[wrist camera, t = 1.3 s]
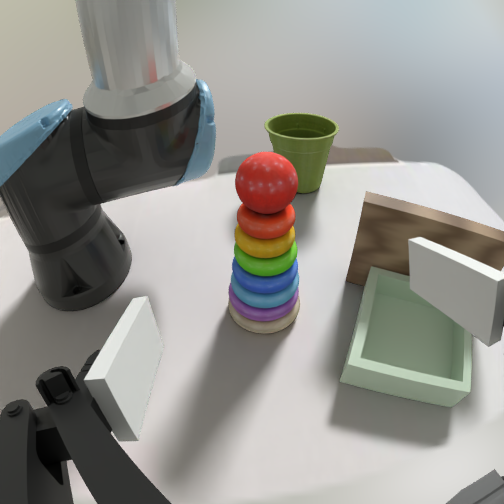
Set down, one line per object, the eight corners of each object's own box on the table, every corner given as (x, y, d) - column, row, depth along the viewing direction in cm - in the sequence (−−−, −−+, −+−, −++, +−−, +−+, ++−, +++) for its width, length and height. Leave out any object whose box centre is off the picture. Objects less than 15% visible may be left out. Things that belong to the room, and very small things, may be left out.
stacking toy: (285, 346, 33) (296, 193, 20) (217, 323, 36) (189, 173, 23) (307, 292, 38) (324, 145, 25) (246, 274, 41) (236, 132, 28)
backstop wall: (345, 281, 39) (363, 201, 31) (348, 270, 41) (365, 191, 32) (472, 314, 34) (515, 245, 25) (471, 303, 35) (511, 234, 27)
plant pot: (289, 161, 62) (290, 108, 54) (343, 181, 56) (350, 123, 49) (251, 187, 55) (248, 126, 48) (311, 211, 50) (316, 145, 42)
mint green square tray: (339, 381, 30) (347, 363, 27) (363, 288, 38) (371, 266, 35) (451, 407, 26) (470, 392, 23) (456, 313, 34) (469, 292, 31)
